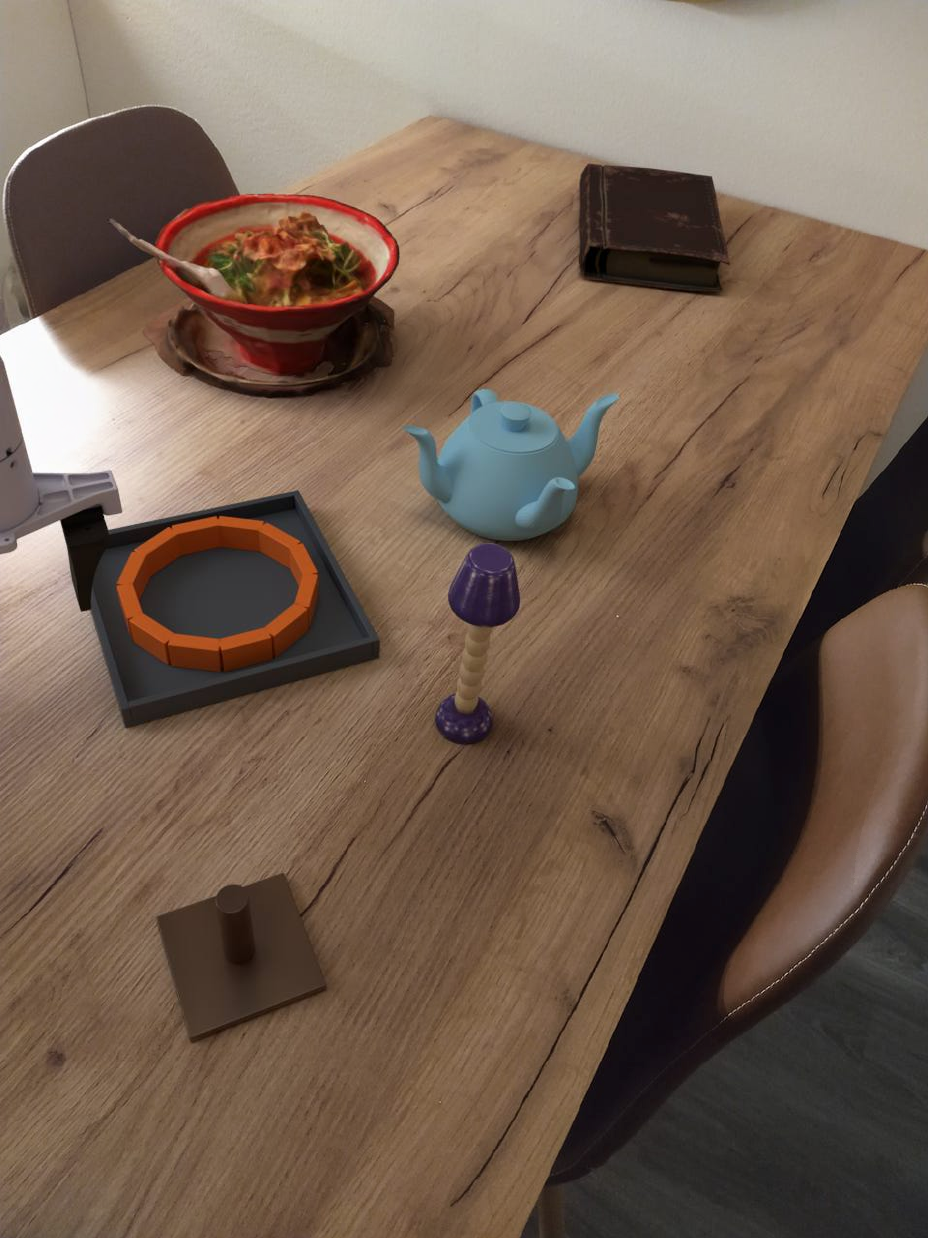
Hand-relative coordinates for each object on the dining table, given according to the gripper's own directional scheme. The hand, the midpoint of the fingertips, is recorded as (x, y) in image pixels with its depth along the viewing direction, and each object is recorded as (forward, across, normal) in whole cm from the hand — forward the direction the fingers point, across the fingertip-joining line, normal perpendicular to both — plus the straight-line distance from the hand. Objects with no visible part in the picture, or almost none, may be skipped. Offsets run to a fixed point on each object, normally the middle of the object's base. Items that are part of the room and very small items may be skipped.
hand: (21, 615), depth 66 cm
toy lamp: (+10, +27, -12) cm, 31 cm away
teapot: (+10, +41, +9) cm, 43 cm away
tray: (+9, +14, +6) cm, 18 cm away
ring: (+9, +14, +6) cm, 18 cm away
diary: (+10, +84, +52) cm, 99 cm away
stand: (+9, +7, -23) cm, 26 cm away
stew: (+10, +29, +41) cm, 51 cm away
